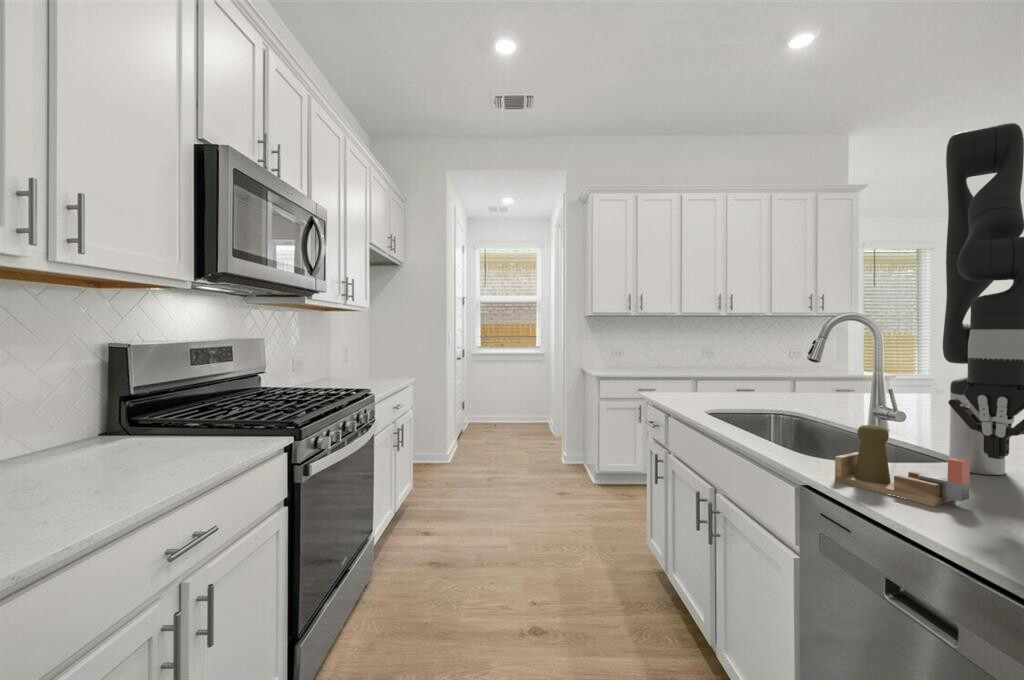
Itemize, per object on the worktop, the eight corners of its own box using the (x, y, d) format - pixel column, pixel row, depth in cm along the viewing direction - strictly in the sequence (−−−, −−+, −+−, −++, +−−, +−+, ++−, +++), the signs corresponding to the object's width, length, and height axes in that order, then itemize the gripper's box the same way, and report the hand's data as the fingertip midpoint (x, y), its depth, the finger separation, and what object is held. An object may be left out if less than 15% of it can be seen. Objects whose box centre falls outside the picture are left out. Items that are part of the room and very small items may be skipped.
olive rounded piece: (897, 484, 97) (898, 429, 97) (863, 482, 98) (864, 428, 98) (880, 475, 103) (881, 423, 102) (848, 474, 104) (849, 422, 104)
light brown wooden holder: (856, 475, 107) (856, 452, 107) (954, 499, 92) (955, 472, 91) (834, 480, 103) (835, 456, 103) (933, 506, 88) (934, 478, 88)
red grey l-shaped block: (925, 488, 93) (926, 452, 93) (969, 498, 88) (969, 460, 88) (917, 490, 92) (918, 453, 92) (961, 501, 86) (962, 462, 86)
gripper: (939, 355, 87) (937, 451, 87) (1044, 358, 75) (1042, 470, 76) (958, 354, 91) (957, 447, 91) (1063, 357, 79) (1061, 464, 79)
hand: (996, 457), depth 83 cm, fingers closed
